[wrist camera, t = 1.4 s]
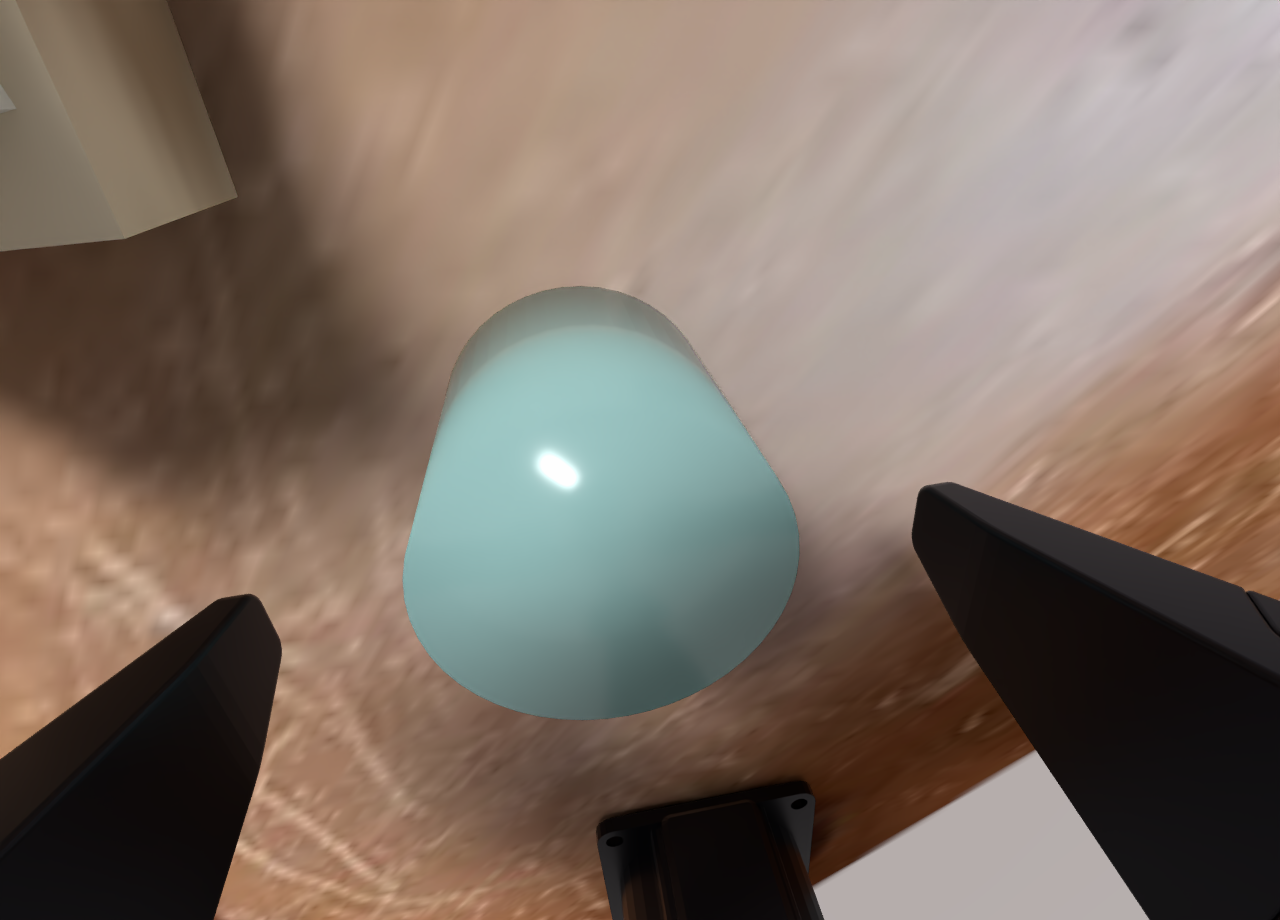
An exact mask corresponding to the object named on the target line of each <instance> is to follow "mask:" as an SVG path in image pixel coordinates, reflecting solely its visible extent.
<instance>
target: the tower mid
mask: <svg viewBox="0 0 1280 920" xmlns="http://www.w3.org/2000/svg"><path fill="white" fill-rule="evenodd" d="M14 109H17V108H16V107H15V105H14V104H13V102H12V101H11V99H10V98H9V96H8V95H7V93H6V92H5V90H4V89H3V87H2V86H1V84H0V113H4V112H7V111H10V110H14Z"/></svg>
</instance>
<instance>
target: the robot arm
mask: <svg viewBox="0 0 1280 920" xmlns="http://www.w3.org/2000/svg"><path fill="white" fill-rule="evenodd" d="M912 542H913V546H914V549H915V551H916V553H917V555H918V557H919V559H920V561H921V563H922V565H923V567H924V569H925V570H926V572H927V574H928V576H929V578H930V580H931V582H932V584H933V586H934V588H935V590H936V591H937V593H938V595H939V597H940V599H941V601H942V603H943V605H944V607H945V609H946V611H947V612H948V614H949V616H950V618H951V620H952V622H953V624H954V626H955V627H956V629H957V631H958V633H959V634H960V636H961V638H962V640H963V641H964V643H965V644H966V646H967V648H968V649H969V651H970V652H971V654H972V655H973V657H974V658H975V660H976V661H977V663H978V664H979V666H980V667H981V669H982V670H983V672H984V673H985V675H986V676H987V678H988V679H989V681H990V682H991V684H992V685H993V687H994V688H995V690H996V691H997V693H998V694H999V696H1000V697H1001V699H1002V700H1003V702H1004V703H1005V705H1006V706H1007V708H1008V709H1009V711H1010V712H1011V714H1012V715H1013V717H1014V718H1015V720H1016V721H1017V723H1018V724H1019V726H1020V727H1021V728H1022V730H1023V731H1024V733H1025V734H1026V736H1027V737H1028V739H1029V740H1030V742H1031V743H1032V745H1033V746H1034V748H1035V749H1036V751H1037V752H1038V754H1039V755H1040V757H1041V758H1042V760H1043V761H1044V763H1045V764H1046V766H1047V767H1048V769H1049V770H1050V772H1051V773H1052V775H1053V776H1054V778H1055V779H1056V781H1057V782H1058V784H1059V785H1060V787H1061V788H1062V790H1063V791H1064V793H1065V794H1066V796H1067V797H1068V799H1069V800H1070V802H1071V803H1072V805H1073V806H1074V808H1075V809H1076V811H1077V812H1078V814H1079V815H1080V816H1081V818H1082V819H1083V821H1084V822H1085V824H1086V826H1087V827H1088V828H1089V830H1090V831H1091V833H1092V834H1093V836H1094V837H1095V839H1096V840H1097V842H1098V843H1099V845H1100V846H1101V848H1102V849H1103V851H1104V852H1105V854H1106V855H1107V857H1108V858H1109V860H1110V861H1111V863H1112V864H1113V866H1114V867H1115V869H1116V870H1117V872H1118V873H1119V875H1120V876H1121V878H1122V879H1123V881H1124V882H1125V883H1126V885H1127V887H1128V888H1129V890H1130V891H1131V893H1132V894H1133V896H1134V897H1135V899H1136V900H1137V902H1138V903H1139V905H1140V906H1141V907H1142V909H1143V911H1144V912H1145V914H1146V915H1147V917H1148V918H1149V920H1280V601H1278V600H1276V599H1273V598H1270V597H1267V596H1265V595H1262V594H1259V593H1257V592H1254V591H1247V592H1245V590H1244V589H1243V588H1242V587H1240V586H1237V585H1234V584H1231V583H1229V582H1226V581H1223V580H1220V579H1218V578H1215V577H1212V576H1209V575H1206V574H1204V573H1201V572H1198V571H1195V570H1193V569H1190V568H1187V567H1184V566H1182V565H1179V564H1176V563H1173V562H1171V561H1168V560H1165V559H1162V558H1160V557H1157V556H1154V555H1151V554H1149V553H1146V552H1143V551H1140V550H1138V549H1135V548H1132V547H1129V546H1127V545H1124V544H1121V543H1118V542H1116V541H1113V540H1110V539H1107V538H1105V537H1102V536H1099V535H1096V534H1094V533H1091V532H1088V531H1085V530H1083V529H1080V528H1077V527H1074V526H1072V525H1069V524H1066V523H1063V522H1061V521H1058V520H1055V519H1052V518H1050V517H1047V516H1044V515H1041V514H1039V513H1036V512H1033V511H1030V510H1028V509H1025V508H1022V507H1019V506H1017V505H1014V504H1011V503H1008V502H1006V501H1003V500H1000V499H997V498H995V497H992V496H989V495H986V494H984V493H981V492H978V491H975V490H973V489H970V488H967V487H964V486H961V485H959V484H956V483H953V482H945V483H939V484H932V485H926V486H924V487H923V488H921V490H920V491H919V493H918V497H917V503H916V509H915V515H914V521H913V528H912ZM281 656H282V648H281V642H280V639H279V636H278V634H277V632H276V630H275V628H274V626H273V624H272V622H271V620H270V618H269V616H268V614H267V612H266V610H265V608H264V606H263V605H262V603H261V601H260V600H259V598H258V597H256V596H255V595H252V594H244V595H237V596H231V597H225V598H221V599H218V600H216V601H214V602H213V603H212V604H210V605H209V606H208V607H206V608H205V609H204V610H202V611H201V612H199V613H198V614H197V615H195V616H194V617H193V618H191V619H190V620H189V621H187V622H186V623H185V624H183V625H182V626H180V627H179V628H178V629H176V630H175V631H174V632H172V633H171V634H170V635H168V636H167V637H166V638H164V639H163V640H161V641H160V642H159V643H157V644H156V645H155V646H153V647H152V648H151V649H149V650H148V651H147V652H145V653H144V654H142V655H141V656H140V657H138V658H137V659H136V660H134V661H133V662H132V663H130V664H129V665H128V666H126V667H125V668H123V669H122V670H121V671H119V672H118V673H117V674H115V675H114V676H113V677H111V678H110V679H109V680H107V681H106V682H104V683H103V684H102V685H100V686H99V687H98V688H96V689H95V690H94V691H92V692H91V693H90V694H88V695H87V696H85V697H84V698H83V699H81V700H80V701H79V702H77V703H76V704H75V705H73V706H72V707H71V708H69V709H68V710H66V711H65V712H64V713H62V714H61V715H60V716H58V717H57V718H56V719H54V720H53V721H52V722H50V723H49V724H47V725H46V726H45V727H43V728H42V729H41V730H39V731H38V732H37V733H35V734H34V735H33V736H31V737H30V738H28V739H27V740H26V741H24V742H23V743H22V744H20V745H19V746H18V747H16V748H15V749H14V750H12V751H11V752H9V753H8V754H7V755H5V756H4V757H3V758H1V759H0V920H214V916H215V913H216V910H217V907H218V904H219V900H220V897H221V894H222V891H223V887H224V884H225V881H226V878H227V874H228V871H229V868H230V865H231V862H232V858H233V855H234V852H235V849H236V845H237V842H238V839H239V836H240V832H241V829H242V826H243V823H244V819H245V816H246V813H247V810H248V807H249V803H250V800H251V797H252V794H253V790H254V787H255V784H256V780H257V776H258V773H259V769H260V765H261V761H262V756H263V752H264V747H265V742H266V736H267V731H268V726H269V721H270V715H271V710H272V705H273V700H274V694H275V689H276V684H277V679H278V673H279V668H280V663H281ZM814 810H815V797H814V795H813V792H812V790H811V787H810V785H809V784H808V783H807V782H804V781H794V782H789V783H784V784H779V785H774V786H769V787H764V788H759V789H754V790H749V791H744V792H739V793H734V794H729V795H724V796H719V797H714V798H709V799H704V800H699V801H694V802H689V803H684V804H679V805H674V806H669V807H665V808H660V809H655V810H650V811H645V812H640V813H635V814H630V815H625V816H620V817H615V818H610V819H607V820H604V821H603V822H601V823H600V824H599V825H598V826H597V829H596V835H597V845H598V850H599V855H600V860H601V865H602V870H603V875H604V880H605V885H606V889H607V894H608V899H609V904H610V909H611V914H612V919H613V920H824V918H823V915H822V912H821V909H820V907H819V904H818V901H817V898H816V896H815V893H814V890H813V887H812V884H811V882H810V879H809V876H808V872H809V862H810V852H811V841H812V831H813V821H814Z"/></svg>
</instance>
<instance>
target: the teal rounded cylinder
mask: <svg viewBox="0 0 1280 920" xmlns="http://www.w3.org/2000/svg"><path fill="white" fill-rule="evenodd" d="M798 561H799V533H798V527H797V522H796V517H795V513H794V511H793V508H792V505H791V503H790V500H789V497H788V495H787V494H786V492H785V490H784V488H783V487H782V485H781V483H780V481H779V480H778V478H777V476H776V475H775V473H774V472H773V470H772V469H771V467H770V466H769V464H768V463H767V461H766V460H765V458H764V457H763V455H762V453H761V452H760V450H759V449H758V447H757V446H756V444H755V443H754V441H753V440H752V438H751V437H750V435H749V434H748V432H747V430H746V429H745V427H744V426H743V424H742V423H741V421H740V420H739V418H738V417H737V415H736V414H735V412H734V410H733V409H732V407H731V406H730V404H729V403H728V401H727V400H726V398H725V397H724V395H723V394H722V392H721V391H720V389H719V387H718V386H717V384H716V383H715V381H714V380H713V378H712V377H711V375H710V374H709V372H708V371H707V369H706V368H705V366H704V364H703V363H702V361H701V360H700V358H699V357H698V355H697V354H696V352H695V351H694V349H693V348H692V346H691V345H690V343H689V341H688V340H687V339H686V337H685V336H684V335H683V334H682V332H681V331H680V330H679V329H678V327H677V326H676V325H674V324H673V323H672V322H671V321H670V320H669V319H668V318H667V317H666V316H665V315H663V314H662V313H661V312H659V311H658V310H656V309H655V308H653V307H652V306H651V305H649V304H647V303H645V302H643V301H641V300H639V299H637V298H635V297H632V296H629V295H627V294H624V293H621V292H618V291H614V290H609V289H604V288H599V287H585V286H575V287H561V288H555V289H550V290H545V291H541V292H538V293H535V294H532V295H529V296H526V297H524V298H522V299H520V300H518V301H516V302H514V303H512V304H509V305H508V306H506V307H505V308H503V309H502V310H500V311H499V312H497V313H496V314H494V315H493V316H492V317H491V318H489V319H488V320H487V321H486V322H485V323H484V324H483V325H482V326H480V327H479V329H478V330H477V331H476V332H475V333H474V334H473V336H472V337H471V338H470V339H469V340H468V342H467V343H466V345H465V347H464V348H463V350H462V351H461V353H460V354H459V356H458V359H457V361H456V363H455V365H454V368H453V370H452V373H451V377H450V380H449V384H448V388H447V392H446V396H445V400H444V404H443V408H442V411H441V415H440V419H439V423H438V427H437V431H436V435H435V439H434V443H433V447H432V451H431V455H430V459H429V463H428V467H427V471H426V475H425V479H424V483H423V487H422V491H421V495H420V498H419V502H418V506H417V510H416V514H415V518H414V522H413V526H412V530H411V534H410V538H409V542H408V546H407V550H406V554H405V560H404V570H403V589H404V600H405V604H406V608H407V612H408V616H409V619H410V622H411V624H412V626H413V628H414V631H415V633H416V635H417V637H418V639H419V641H420V642H421V644H422V645H423V647H424V648H425V650H426V651H427V653H428V654H429V656H430V657H431V658H432V659H433V660H434V661H435V662H436V663H437V664H438V665H439V667H440V668H441V669H442V670H443V671H444V672H446V673H447V674H448V675H449V676H450V677H452V678H453V679H454V680H455V681H456V682H458V683H459V684H460V685H462V686H463V687H465V688H467V689H468V690H470V691H471V692H473V693H475V694H476V695H478V696H480V697H482V698H484V699H486V700H488V701H491V702H493V703H495V704H497V705H500V706H503V707H506V708H509V709H512V710H515V711H517V712H522V713H526V714H530V715H535V716H539V717H547V718H555V719H567V720H594V719H608V718H615V717H623V716H629V715H633V714H638V713H642V712H646V711H650V710H653V709H656V708H659V707H663V706H666V705H669V704H671V703H674V702H676V701H679V700H681V699H683V698H686V697H688V696H690V695H692V694H694V693H696V692H698V691H700V690H702V689H704V688H705V687H707V686H709V685H711V684H712V683H714V682H715V681H717V680H718V679H720V678H721V677H723V676H724V675H726V674H727V673H729V672H730V671H731V670H733V669H734V668H735V667H736V666H737V665H739V664H740V663H741V662H742V661H744V660H745V659H746V658H747V657H748V656H749V655H750V654H751V653H752V652H753V651H754V650H755V649H756V648H757V647H758V646H759V645H760V643H761V642H762V641H763V640H764V638H765V637H766V636H767V635H768V633H769V632H770V631H771V630H772V628H773V627H774V625H775V624H776V622H777V620H778V619H779V617H780V615H781V614H782V612H783V610H784V608H785V606H786V604H787V601H788V599H789V597H790V595H791V592H792V589H793V585H794V582H795V579H796V575H797V569H798Z"/></svg>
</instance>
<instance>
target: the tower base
mask: <svg viewBox="0 0 1280 920" xmlns="http://www.w3.org/2000/svg"><path fill="white" fill-rule="evenodd" d="M0 84H1V86H2V87H3V89H4V90H5V92H6V93H7V95H8V96H9V98H10V99H11V101H12V102H13V104H14V105H15V107H16V108H17V109H14V110H10V111H7V112H4V113H0V251H10V250H20V249H30V248H40V247H50V246H59V245H69V244H79V243H89V242H99V241H109V240H119V239H126V238H129V237H131V236H134V235H137V234H139V233H142V232H145V231H148V230H150V229H153V228H156V227H158V226H161V225H164V224H166V223H169V222H172V221H175V220H177V219H180V218H183V217H185V216H188V215H191V214H194V213H196V212H199V211H202V210H204V209H207V208H210V207H213V206H215V205H218V204H221V203H223V202H226V201H229V200H231V199H234V198H237V197H238V195H237V193H236V190H235V187H234V184H233V182H232V179H231V176H230V173H229V171H228V168H227V165H226V163H225V160H224V157H223V154H222V152H221V149H220V146H219V143H218V141H217V138H216V135H215V132H214V130H213V127H212V124H211V121H210V119H209V116H208V113H207V110H206V108H205V105H204V102H203V99H202V97H201V94H200V91H199V88H198V86H197V83H196V80H195V77H194V75H193V72H192V69H191V66H190V64H189V61H188V58H187V55H186V53H185V50H184V47H183V44H182V42H181V39H180V36H179V33H178V31H177V28H176V25H175V22H174V20H173V17H172V14H171V11H170V9H169V6H168V3H167V0H0Z"/></svg>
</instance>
